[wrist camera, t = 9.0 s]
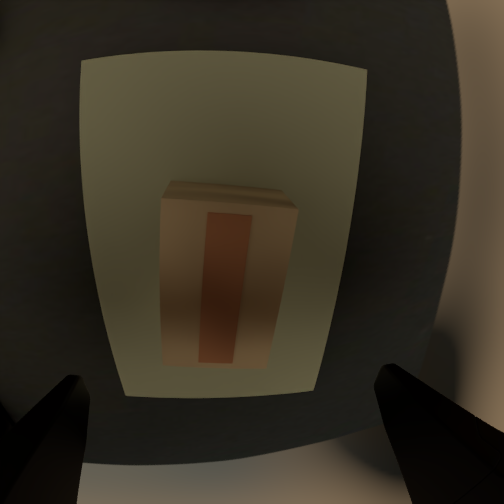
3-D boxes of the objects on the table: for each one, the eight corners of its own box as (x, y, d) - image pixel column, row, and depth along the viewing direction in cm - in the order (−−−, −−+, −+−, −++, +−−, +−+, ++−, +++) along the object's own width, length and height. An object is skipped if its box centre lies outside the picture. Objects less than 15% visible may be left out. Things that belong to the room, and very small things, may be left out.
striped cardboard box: (170, 180, 13) (160, 198, 11) (281, 190, 14) (299, 209, 12) (167, 327, 17) (162, 365, 14) (257, 331, 18) (266, 369, 15)
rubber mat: (311, 384, 21) (313, 390, 21) (127, 389, 19) (125, 395, 19) (361, 70, 13) (367, 69, 12) (86, 62, 11) (81, 60, 10)
